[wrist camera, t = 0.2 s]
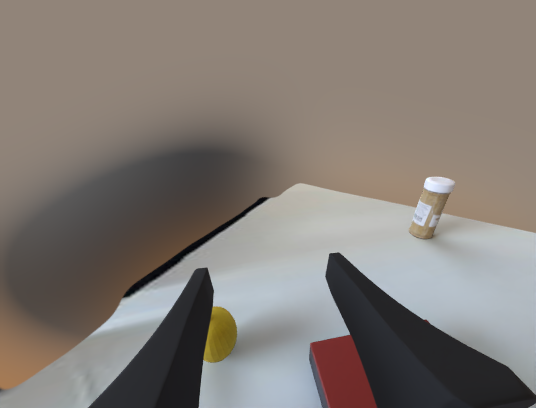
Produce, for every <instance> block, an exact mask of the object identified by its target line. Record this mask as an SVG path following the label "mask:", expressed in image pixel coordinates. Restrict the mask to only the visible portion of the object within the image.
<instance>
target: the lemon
mask: <svg viewBox="0 0 536 408" xmlns="http://www.w3.org/2000/svg"><path fill="white" fill-rule="evenodd" d="M236 339H237V327H236V323H235V320H234V318H233V317H232V315H231V314H230V313H229V312H228V311H227V310H226V309H224V308H222V307H212V314H211V320H210V325H209V331H208V336H207V341H206V347H205V352H204V359H203V360H204V361H207V362H210V363H211V362H219V361H221V360H223V359H225V358H226V357H227V356H228V355H229V354H230V353H231V351H232V350H233V348H234V346H235V343H236Z"/></svg>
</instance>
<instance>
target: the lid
mask: <svg viewBox="0 0 536 408" xmlns="http://www.w3.org/2000/svg"><path fill="white" fill-rule="evenodd" d="M425 321H426V322H428V321H427V320H425ZM428 323H429V322H428ZM310 348H311V351H312V354H313V358H314V361H315V364H316V368H317V371H318V375H319V378H320V381H321V385H322V388H323V392H324V395H325V398H326V402H327V405H328V408H377V406H376V403H375V400H374V397H373V394H372V391H371V388H370V385H369V382H368V379H367V376H366V374H365V371H364V368H363V365H362V362H361V360H360V357H359V354H358V352H357V349H356V347H355V344H354V341H353V339H352V337H351V335H347V336H342V337H337V338H332V339H327V340H322V341H318V342H313V343H310Z"/></svg>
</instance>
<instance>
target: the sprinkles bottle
mask: <svg viewBox="0 0 536 408" xmlns="http://www.w3.org/2000/svg"><path fill="white" fill-rule="evenodd" d="M454 186H455V182H454V181H453V180H451V179H448V178H443V177H429V178H427V179H426V181H425V184H424V190H423V193H422V196H421V198H420V200H419V203H418V206H417V208H416V211H415V214H414V217H413V221H412V224H411V227H410V228H409V232H410V233H411V234H412V235H414V236H416V237H419V238H423V239H429V238H431V237H432V236H433V232H434V230H435V227H436V225H437V224H438V221H439V219H440V216H441V214H442V211H443V209H444V206H445V204H446V201H447V199H448V197H449V194H450V193H451V192H452V191H453V189H454Z"/></svg>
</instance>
